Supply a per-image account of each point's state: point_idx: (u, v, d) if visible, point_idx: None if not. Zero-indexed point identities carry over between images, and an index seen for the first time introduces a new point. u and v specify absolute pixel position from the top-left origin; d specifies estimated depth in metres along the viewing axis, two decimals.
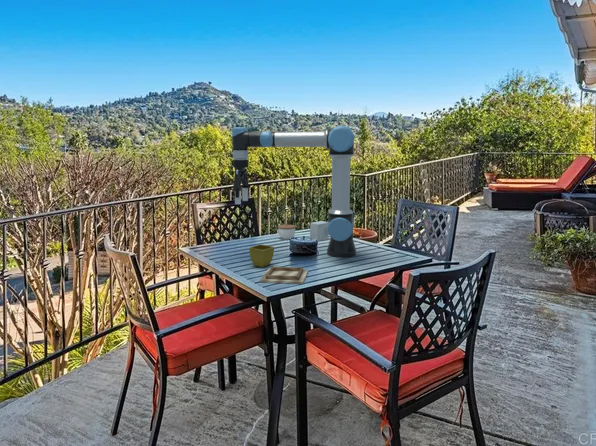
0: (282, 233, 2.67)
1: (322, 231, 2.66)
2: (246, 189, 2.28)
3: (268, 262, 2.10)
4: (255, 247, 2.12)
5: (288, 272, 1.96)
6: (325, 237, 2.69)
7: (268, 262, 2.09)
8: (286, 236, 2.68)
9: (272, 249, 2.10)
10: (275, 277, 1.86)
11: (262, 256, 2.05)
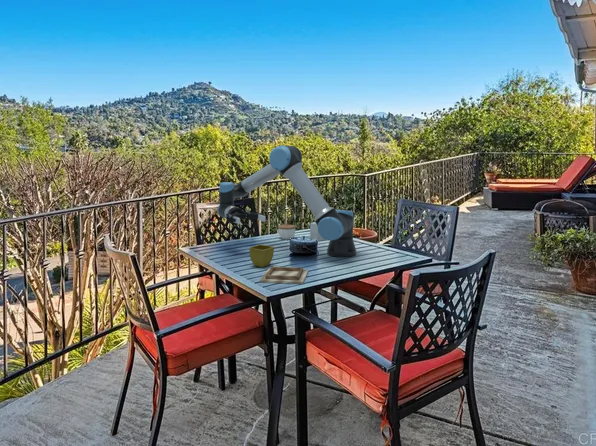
0: (282, 233, 2.67)
1: None
2: (258, 215, 2.24)
3: (268, 262, 2.10)
4: (255, 247, 2.12)
5: (288, 272, 1.96)
6: None
7: (268, 262, 2.09)
8: (286, 236, 2.68)
9: (272, 249, 2.10)
10: (275, 277, 1.86)
11: (262, 256, 2.05)
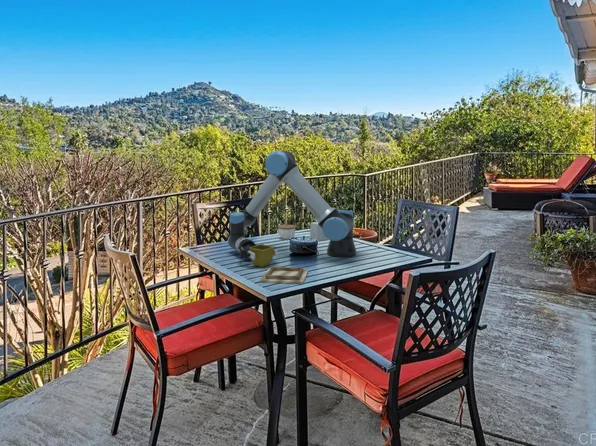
0: (282, 233, 2.67)
1: (322, 231, 2.66)
2: None
3: (268, 262, 2.10)
4: (255, 247, 2.12)
5: (288, 272, 1.96)
6: (325, 237, 2.69)
7: (268, 262, 2.09)
8: (286, 236, 2.68)
9: (272, 249, 2.10)
10: (275, 277, 1.86)
11: (262, 256, 2.05)
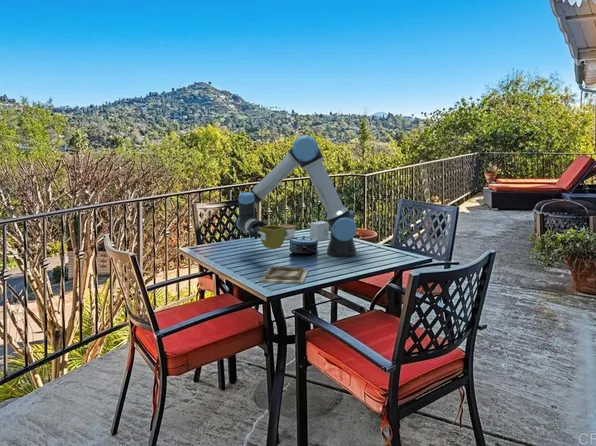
0: None
1: (322, 231, 2.66)
2: None
3: (280, 244, 1.95)
4: (266, 228, 1.97)
5: (288, 272, 1.96)
6: (325, 237, 2.69)
7: (279, 243, 1.94)
8: None
9: (284, 230, 1.94)
10: (275, 277, 1.86)
11: (273, 237, 1.90)
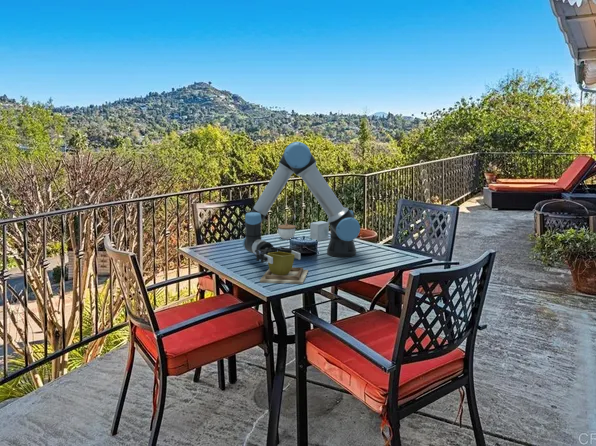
0: (282, 233, 2.67)
1: (322, 231, 2.66)
2: (292, 251, 1.98)
3: (287, 270, 1.91)
4: (274, 253, 1.94)
5: None
6: (325, 237, 2.69)
7: (287, 270, 1.90)
8: (286, 236, 2.68)
9: (292, 256, 1.91)
10: (275, 277, 1.86)
11: (281, 263, 1.86)
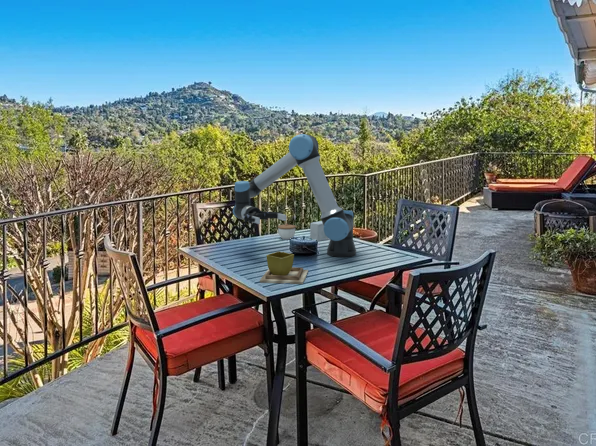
0: (282, 233, 2.67)
1: (322, 231, 2.66)
2: (278, 214, 2.11)
3: (287, 271, 1.91)
4: (273, 254, 1.93)
5: None
6: (325, 237, 2.69)
7: (287, 271, 1.90)
8: (286, 236, 2.68)
9: (292, 257, 1.90)
10: (275, 277, 1.86)
11: (280, 265, 1.86)
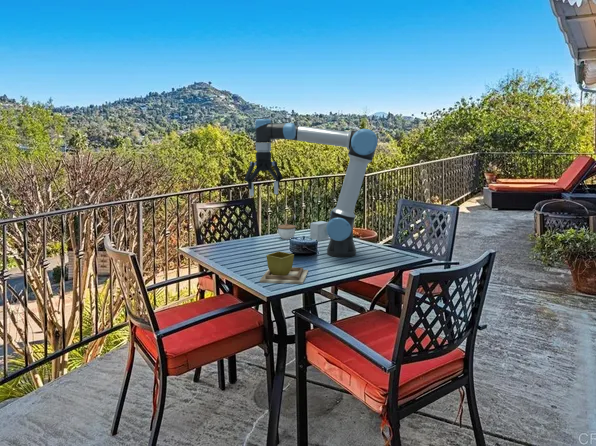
0: (282, 233, 2.67)
1: (322, 231, 2.66)
2: (276, 182, 2.23)
3: (287, 271, 1.91)
4: (273, 254, 1.93)
5: None
6: (325, 237, 2.69)
7: (287, 271, 1.90)
8: (286, 236, 2.68)
9: (292, 257, 1.90)
10: (275, 277, 1.86)
11: (280, 265, 1.86)
